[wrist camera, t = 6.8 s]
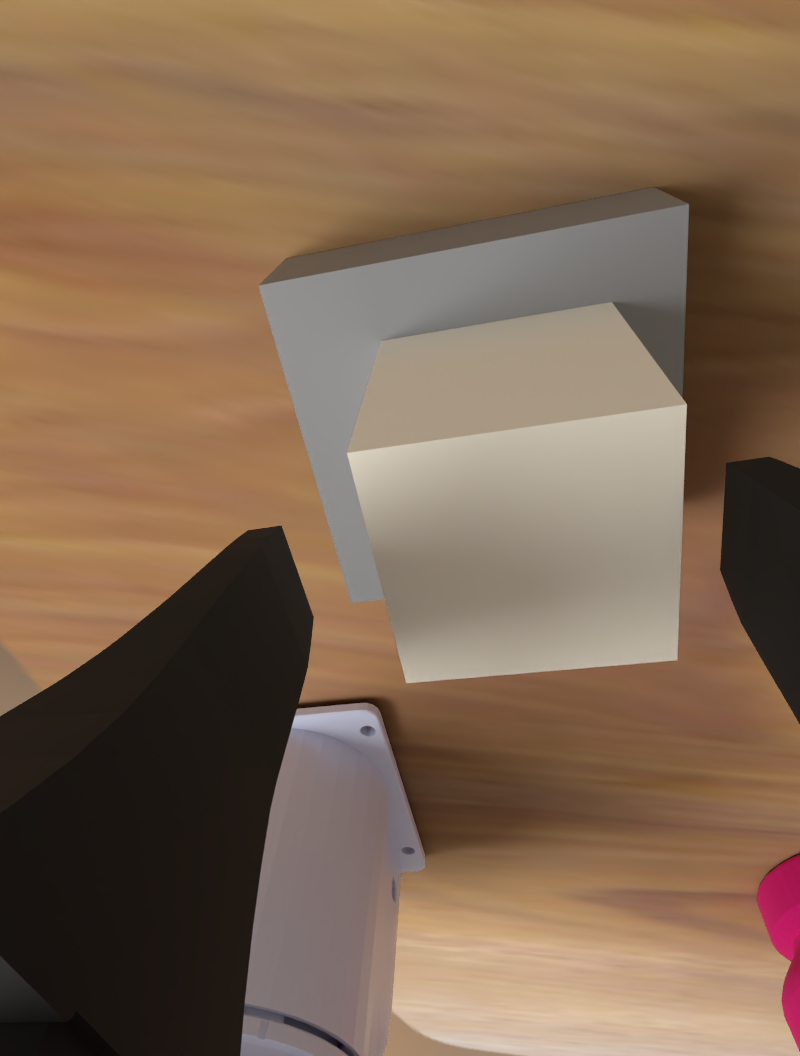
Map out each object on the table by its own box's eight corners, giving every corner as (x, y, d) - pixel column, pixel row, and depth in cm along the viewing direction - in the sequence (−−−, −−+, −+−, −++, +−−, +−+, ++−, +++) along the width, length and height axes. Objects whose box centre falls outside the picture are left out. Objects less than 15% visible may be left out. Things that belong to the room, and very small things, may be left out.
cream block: (616, 503, 15) (677, 659, 11) (419, 527, 16) (406, 682, 12) (612, 301, 13) (686, 404, 9) (381, 340, 14) (346, 453, 9)
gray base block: (647, 504, 18) (677, 568, 16) (365, 538, 20) (351, 603, 17) (648, 184, 14) (689, 203, 12) (290, 254, 16) (258, 285, 13)
